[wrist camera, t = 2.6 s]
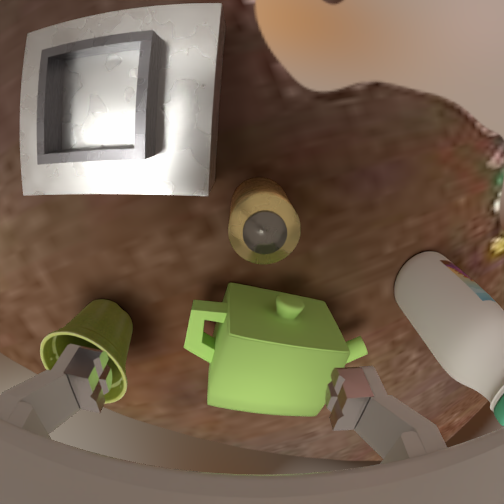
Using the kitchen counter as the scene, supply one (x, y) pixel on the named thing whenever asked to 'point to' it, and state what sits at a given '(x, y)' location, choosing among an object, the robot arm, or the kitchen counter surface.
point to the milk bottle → (455, 323)
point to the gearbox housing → (123, 102)
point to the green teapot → (269, 350)
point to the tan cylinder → (262, 222)
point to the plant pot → (95, 340)
